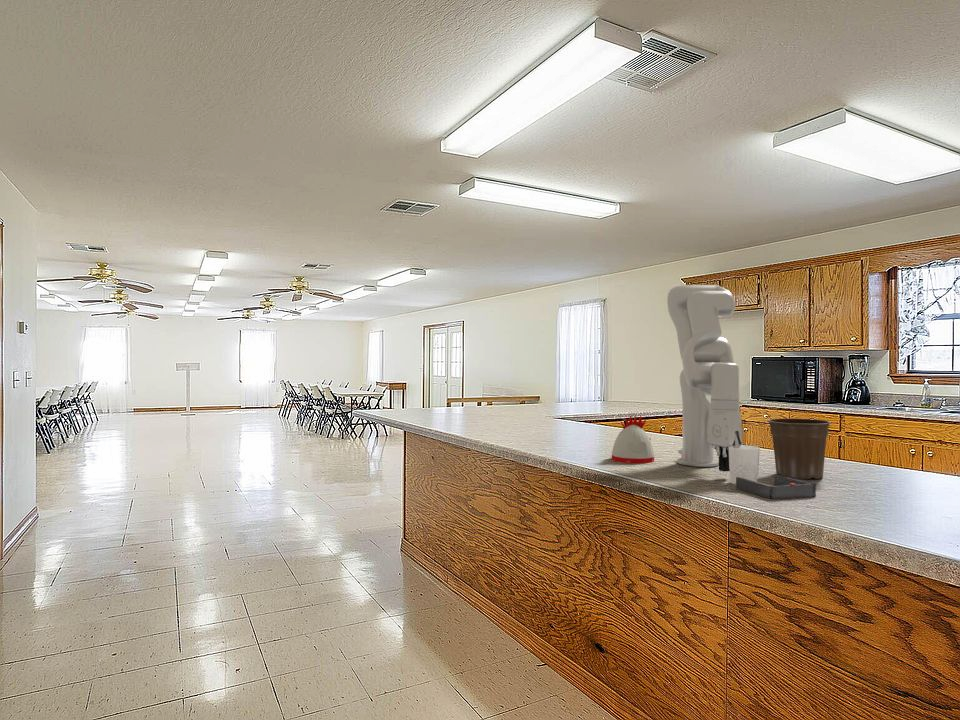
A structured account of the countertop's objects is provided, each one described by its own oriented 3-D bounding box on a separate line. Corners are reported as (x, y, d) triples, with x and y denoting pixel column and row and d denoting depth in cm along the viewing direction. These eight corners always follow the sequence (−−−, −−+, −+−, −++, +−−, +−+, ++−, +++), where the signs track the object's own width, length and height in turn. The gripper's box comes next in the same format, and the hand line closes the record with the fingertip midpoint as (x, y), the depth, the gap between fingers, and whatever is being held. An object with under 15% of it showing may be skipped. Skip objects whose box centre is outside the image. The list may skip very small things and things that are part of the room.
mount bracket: (735, 488, 162) (736, 475, 162) (776, 485, 166) (777, 473, 166) (772, 499, 150) (772, 485, 150) (816, 496, 154) (816, 482, 154)
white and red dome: (659, 463, 201) (659, 417, 201) (616, 463, 201) (616, 417, 201) (648, 457, 215) (648, 413, 215) (608, 456, 215) (608, 413, 215)
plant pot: (766, 478, 177) (766, 421, 177) (769, 469, 191) (769, 416, 191) (831, 483, 169) (831, 424, 169) (829, 474, 184) (829, 419, 184)
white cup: (741, 487, 164) (741, 449, 164) (722, 481, 172) (722, 445, 172) (766, 485, 166) (766, 448, 166) (746, 480, 174) (746, 444, 174)
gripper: (697, 404, 183) (697, 467, 182) (731, 407, 168) (731, 475, 168) (719, 404, 185) (719, 466, 184) (754, 407, 170) (754, 474, 170)
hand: (725, 470), depth 176 cm, fingers closed
